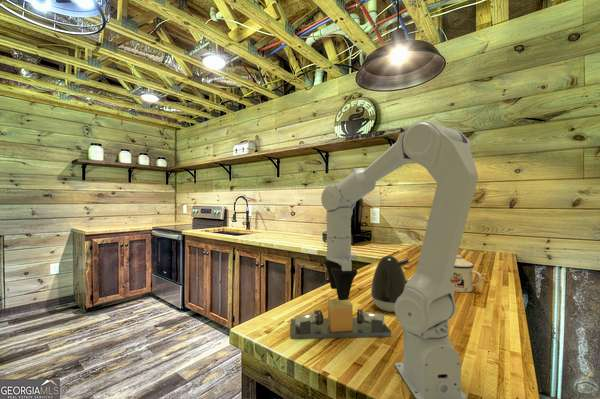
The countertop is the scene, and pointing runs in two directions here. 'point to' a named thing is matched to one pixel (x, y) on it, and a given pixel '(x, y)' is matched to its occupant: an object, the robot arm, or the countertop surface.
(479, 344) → the countertop surface
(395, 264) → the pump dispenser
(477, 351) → the countertop surface
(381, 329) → the shaft
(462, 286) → the teacup with lid
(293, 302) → the countertop surface
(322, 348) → the countertop surface
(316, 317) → the shaft
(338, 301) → the block
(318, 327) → the base plate
